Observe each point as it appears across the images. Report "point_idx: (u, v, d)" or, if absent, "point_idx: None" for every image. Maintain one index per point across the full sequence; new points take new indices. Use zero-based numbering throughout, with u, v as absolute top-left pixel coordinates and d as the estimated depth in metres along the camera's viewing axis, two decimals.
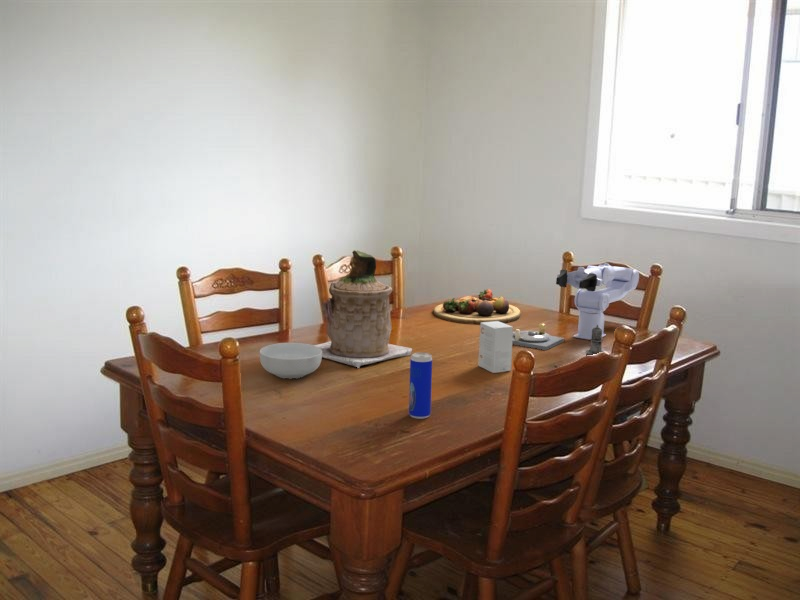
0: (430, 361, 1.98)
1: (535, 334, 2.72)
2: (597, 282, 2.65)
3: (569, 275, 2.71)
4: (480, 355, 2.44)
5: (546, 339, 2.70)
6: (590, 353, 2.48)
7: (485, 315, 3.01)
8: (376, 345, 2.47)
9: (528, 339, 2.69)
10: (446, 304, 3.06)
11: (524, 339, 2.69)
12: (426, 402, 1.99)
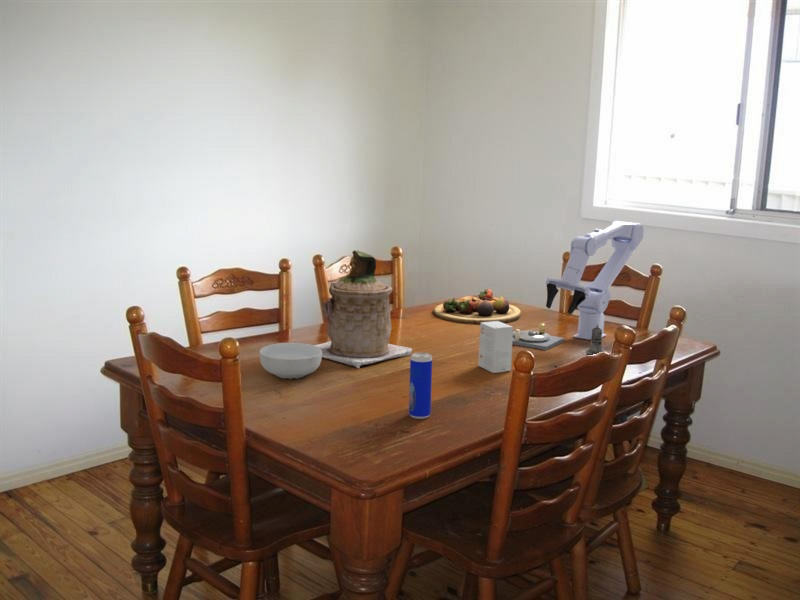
0: (430, 361, 1.98)
1: (535, 334, 2.72)
2: (585, 294, 2.65)
3: (557, 282, 2.70)
4: (480, 355, 2.44)
5: (546, 339, 2.70)
6: (590, 353, 2.48)
7: (485, 315, 3.01)
8: (376, 345, 2.47)
9: (528, 339, 2.69)
10: (446, 304, 3.06)
11: (524, 339, 2.69)
12: (426, 402, 1.99)
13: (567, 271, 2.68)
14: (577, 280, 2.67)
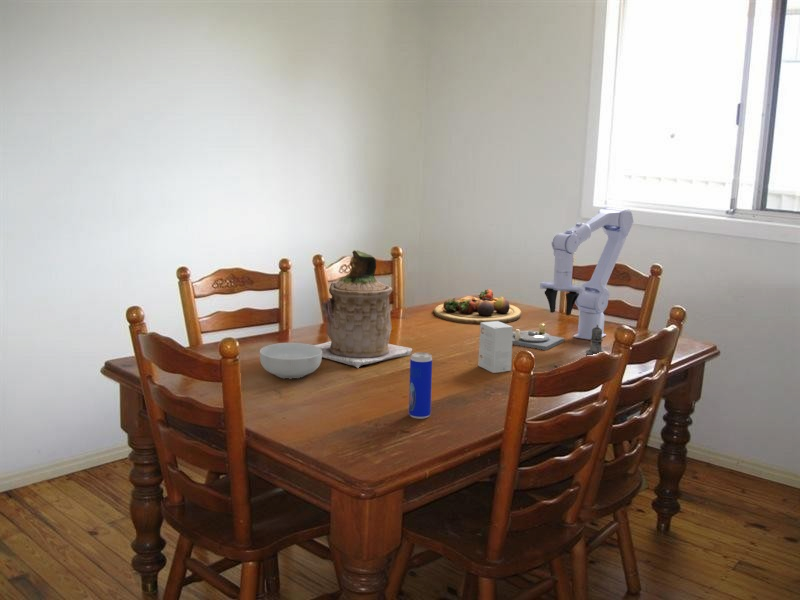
0: (430, 361, 1.98)
1: (535, 334, 2.72)
2: (580, 293, 2.66)
3: None
4: (480, 355, 2.44)
5: (546, 339, 2.70)
6: (590, 353, 2.48)
7: (485, 315, 3.01)
8: (376, 345, 2.47)
9: (528, 339, 2.69)
10: (447, 304, 3.06)
11: (524, 339, 2.69)
12: (426, 402, 1.99)
13: (557, 276, 2.67)
14: (569, 281, 2.67)
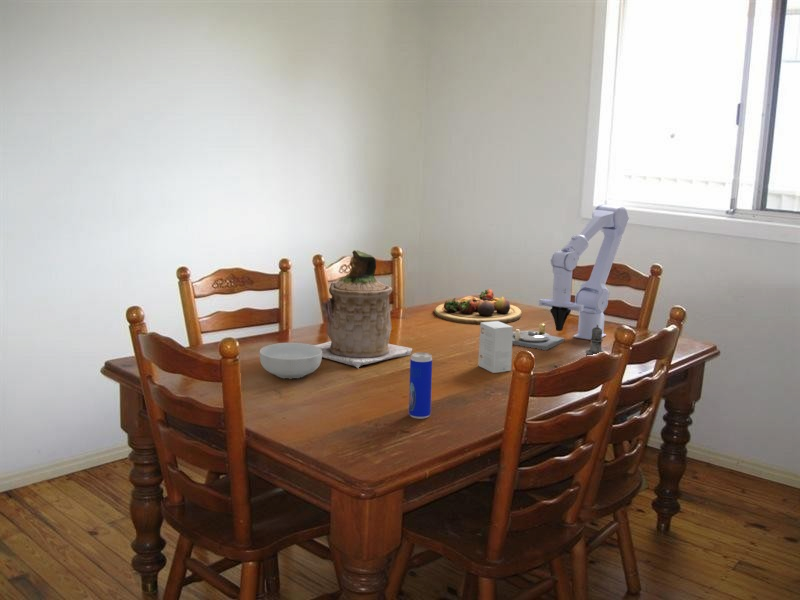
0: (430, 361, 1.98)
1: (535, 334, 2.72)
2: (579, 311, 2.67)
3: None
4: (480, 355, 2.44)
5: (546, 339, 2.70)
6: (590, 353, 2.48)
7: (486, 315, 3.01)
8: (376, 345, 2.47)
9: (528, 339, 2.69)
10: (447, 304, 3.06)
11: (524, 339, 2.69)
12: (426, 402, 1.99)
13: (556, 293, 2.68)
14: (568, 299, 2.68)
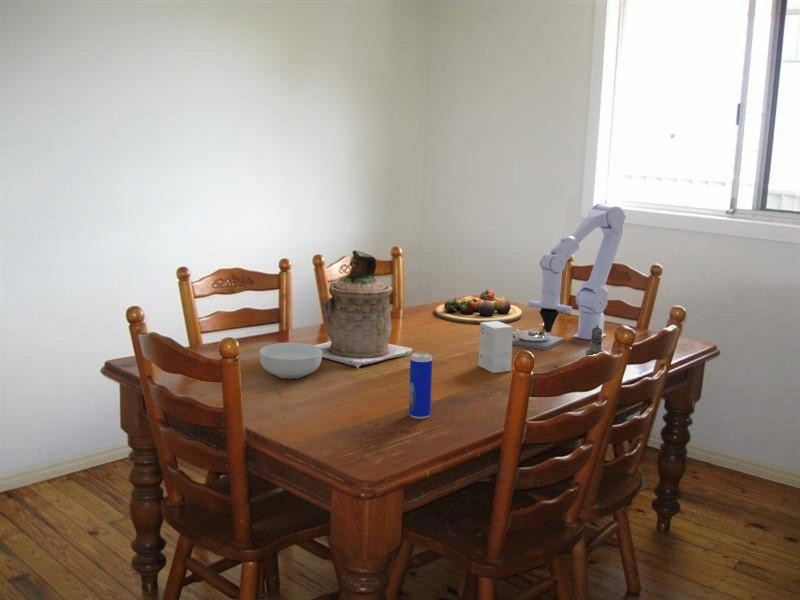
0: (430, 361, 1.98)
1: (535, 334, 2.72)
2: (568, 312, 2.70)
3: None
4: (480, 355, 2.44)
5: (546, 339, 2.70)
6: (590, 353, 2.48)
7: (486, 315, 3.01)
8: (376, 345, 2.47)
9: (528, 339, 2.69)
10: (447, 304, 3.06)
11: (524, 339, 2.69)
12: (426, 402, 1.99)
13: (544, 295, 2.70)
14: (556, 300, 2.70)
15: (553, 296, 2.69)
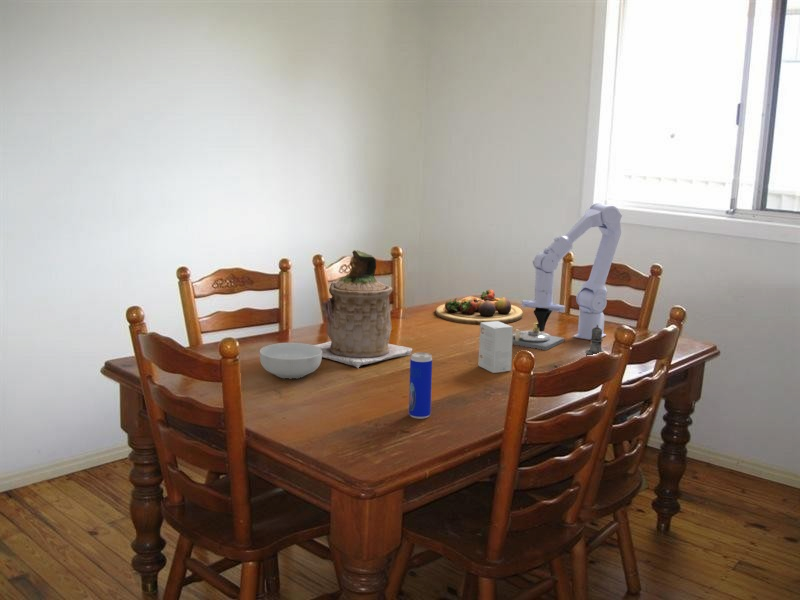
0: (430, 361, 1.98)
1: (537, 334, 2.73)
2: (561, 311, 2.71)
3: None
4: (480, 355, 2.44)
5: (549, 337, 2.73)
6: (590, 353, 2.48)
7: (487, 315, 3.01)
8: (376, 345, 2.47)
9: (538, 339, 2.69)
10: (448, 304, 3.06)
11: (533, 340, 2.68)
12: (426, 402, 1.99)
13: (537, 294, 2.72)
14: (549, 300, 2.72)
15: (546, 295, 2.71)
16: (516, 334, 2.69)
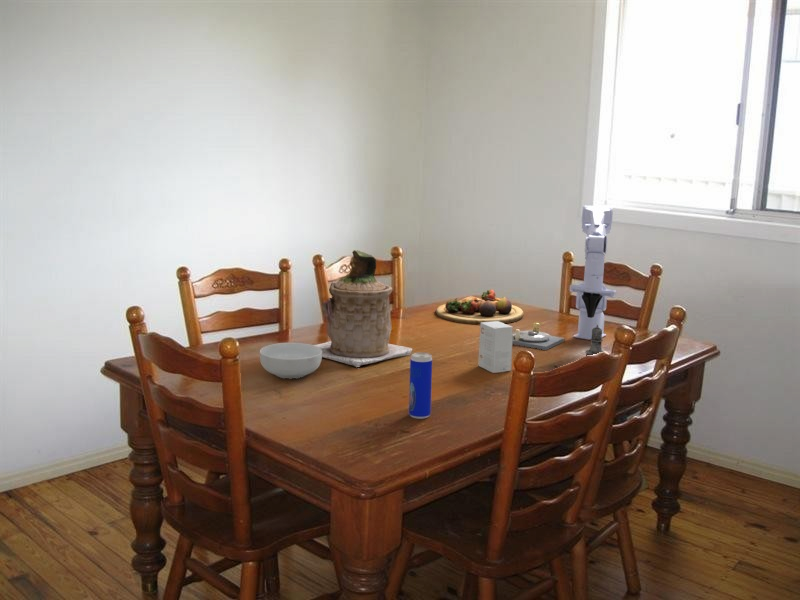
0: (430, 361, 1.98)
1: (537, 334, 2.73)
2: (612, 297, 2.60)
3: None
4: (480, 355, 2.44)
5: (549, 337, 2.73)
6: (590, 353, 2.48)
7: (487, 315, 3.00)
8: (376, 345, 2.48)
9: (538, 339, 2.69)
10: (449, 304, 3.06)
11: (534, 340, 2.68)
12: (426, 402, 1.99)
13: (587, 278, 2.60)
14: (600, 284, 2.60)
15: (596, 280, 2.59)
16: (516, 334, 2.69)
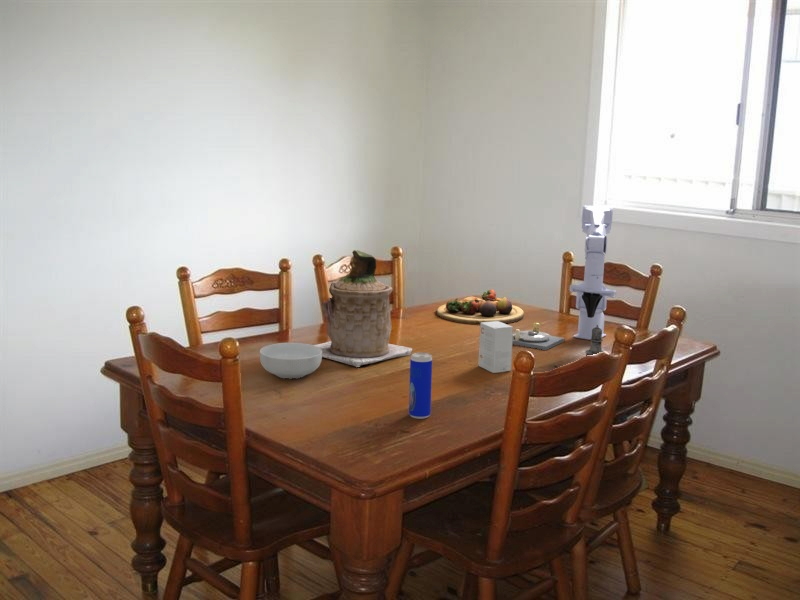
0: (430, 361, 1.98)
1: (537, 334, 2.73)
2: (612, 297, 2.60)
3: None
4: (480, 355, 2.44)
5: (549, 337, 2.73)
6: (590, 353, 2.48)
7: (488, 315, 3.00)
8: (376, 345, 2.48)
9: (538, 339, 2.69)
10: (449, 304, 3.06)
11: (534, 340, 2.68)
12: (426, 402, 1.99)
13: (587, 278, 2.60)
14: (600, 284, 2.60)
15: (596, 280, 2.59)
16: (516, 334, 2.69)
